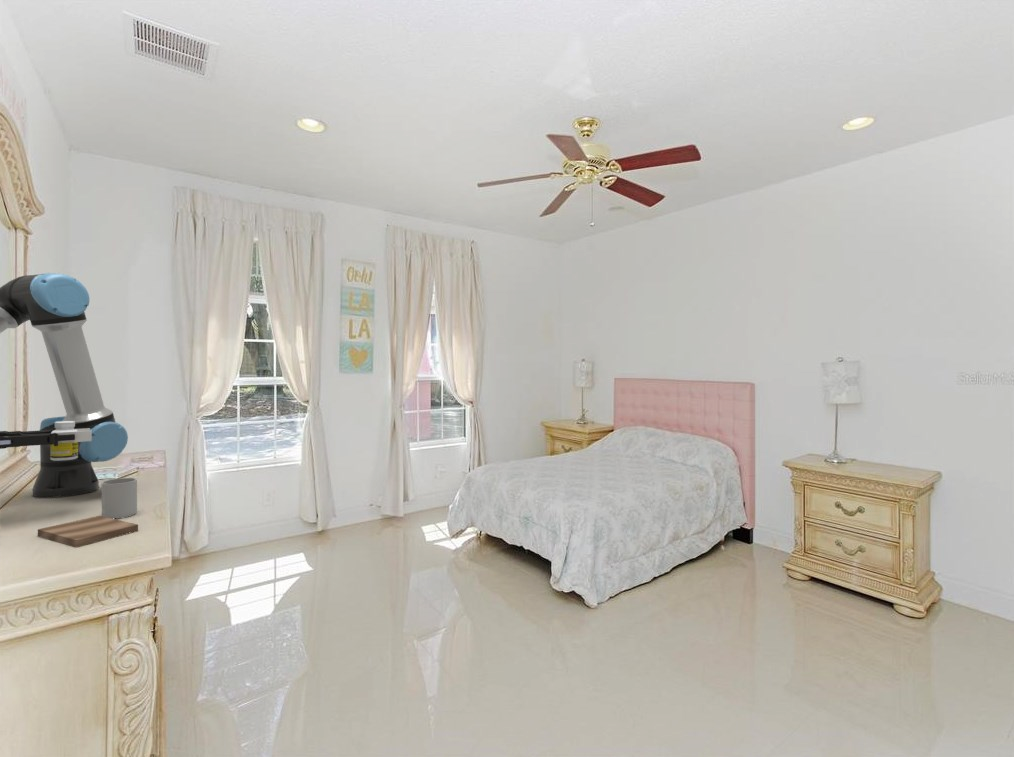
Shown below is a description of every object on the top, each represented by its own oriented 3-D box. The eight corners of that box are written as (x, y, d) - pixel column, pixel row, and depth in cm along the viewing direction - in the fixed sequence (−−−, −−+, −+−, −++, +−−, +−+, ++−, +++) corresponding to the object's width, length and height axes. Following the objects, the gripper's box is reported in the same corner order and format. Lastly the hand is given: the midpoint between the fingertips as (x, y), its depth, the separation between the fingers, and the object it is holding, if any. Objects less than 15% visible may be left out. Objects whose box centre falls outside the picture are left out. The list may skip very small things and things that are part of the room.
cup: (102, 521, 124) (102, 485, 124) (100, 512, 131) (99, 478, 131) (138, 515, 129) (138, 481, 129) (134, 507, 136) (134, 475, 136)
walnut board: (37, 535, 113) (37, 529, 113) (99, 521, 124) (99, 515, 124) (76, 547, 106) (76, 540, 106) (138, 530, 117) (138, 524, 117)
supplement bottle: (76, 460, 129) (76, 422, 129) (48, 461, 126) (48, 423, 126) (79, 456, 134) (79, 420, 134) (52, 458, 131) (52, 421, 131)
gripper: (-33, 452, 125) (88, 444, 140) (-43, 463, 111) (93, 452, 127) (-33, 422, 124) (88, 417, 140) (-43, 429, 111) (93, 423, 127)
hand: (90, 434), depth 134 cm, fingers closed on supplement bottle, 5 cm apart
